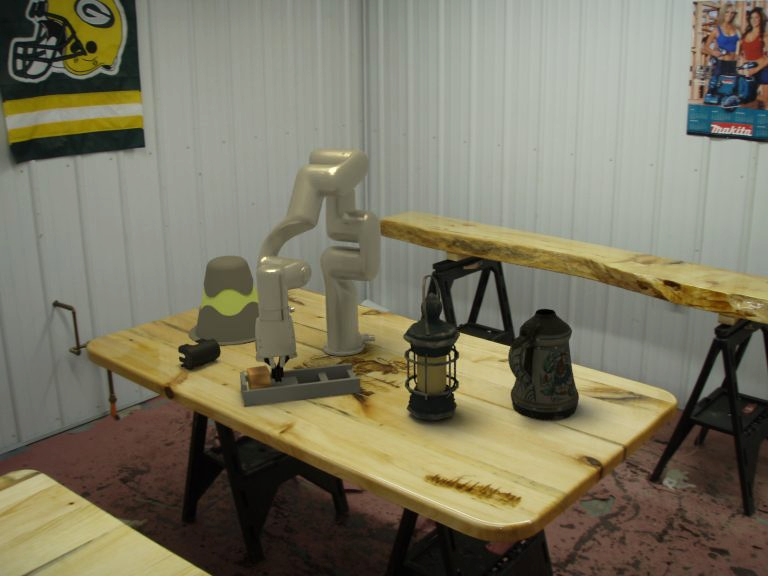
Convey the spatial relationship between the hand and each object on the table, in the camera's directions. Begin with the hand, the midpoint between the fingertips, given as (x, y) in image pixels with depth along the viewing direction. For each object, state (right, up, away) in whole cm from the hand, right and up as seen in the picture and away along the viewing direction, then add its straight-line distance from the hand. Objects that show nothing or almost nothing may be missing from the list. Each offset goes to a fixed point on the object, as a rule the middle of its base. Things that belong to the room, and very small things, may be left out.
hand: (277, 380), depth 204 cm
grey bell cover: (-21, +10, +50) cm, 55 cm away
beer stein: (+67, -6, -11) cm, 68 cm away
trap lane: (+6, -3, +3) cm, 7 cm away
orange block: (-5, -2, -1) cm, 5 cm away
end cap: (-25, +2, +22) cm, 34 cm away
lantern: (+39, -7, -12) cm, 42 cm away
